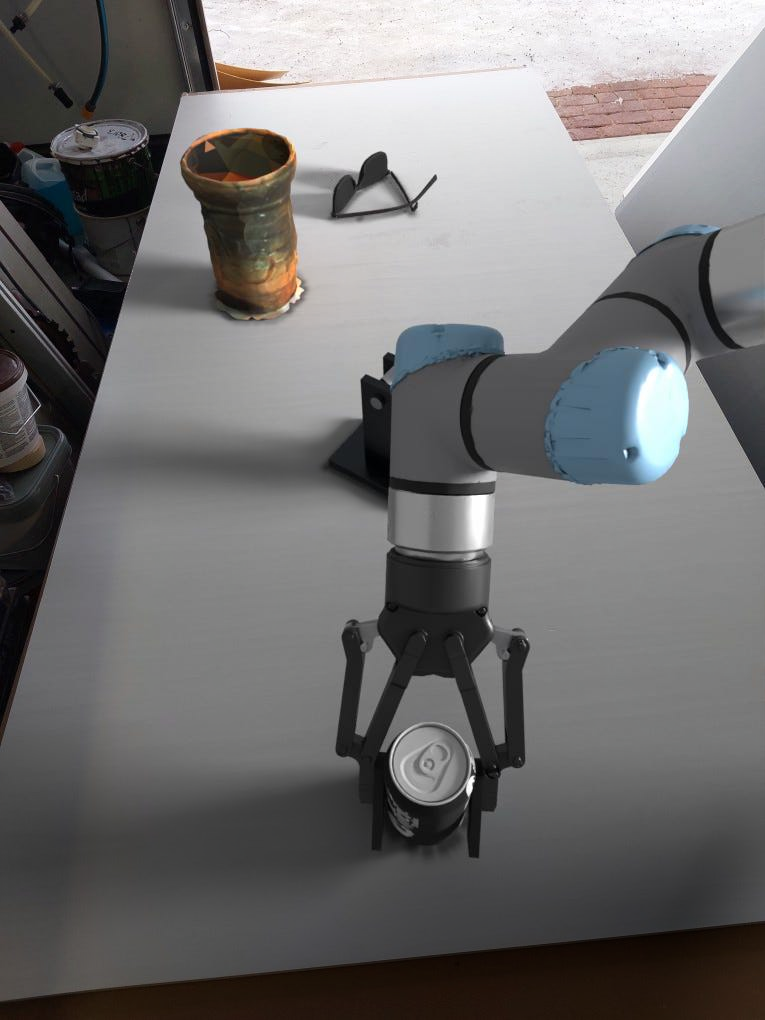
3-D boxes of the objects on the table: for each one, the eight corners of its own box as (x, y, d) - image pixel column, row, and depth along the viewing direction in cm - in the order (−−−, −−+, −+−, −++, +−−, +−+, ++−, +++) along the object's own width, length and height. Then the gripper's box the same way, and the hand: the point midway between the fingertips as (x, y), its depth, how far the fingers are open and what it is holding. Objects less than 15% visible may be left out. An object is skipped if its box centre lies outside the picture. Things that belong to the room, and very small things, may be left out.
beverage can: (369, 805, 58) (363, 762, 48) (423, 749, 60) (427, 697, 51) (427, 866, 55) (433, 833, 45) (481, 804, 58) (496, 760, 48)
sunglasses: (400, 243, 107) (400, 213, 103) (325, 217, 112) (322, 187, 108) (453, 194, 115) (455, 164, 111) (381, 172, 120) (380, 142, 116)
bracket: (457, 459, 80) (466, 369, 69) (415, 511, 76) (418, 424, 65) (372, 418, 85) (368, 328, 73) (328, 465, 80) (317, 376, 69)
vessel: (332, 284, 101) (319, 144, 85) (266, 335, 94) (239, 194, 78) (260, 251, 106) (235, 114, 90) (192, 298, 100) (153, 158, 84)
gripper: (566, 544, 53) (545, 822, 56) (312, 533, 54) (307, 806, 57) (589, 566, 45) (563, 886, 49) (294, 552, 46) (289, 865, 50)
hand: (425, 842), depth 53 cm, fingers closed on beverage can, 7 cm apart
